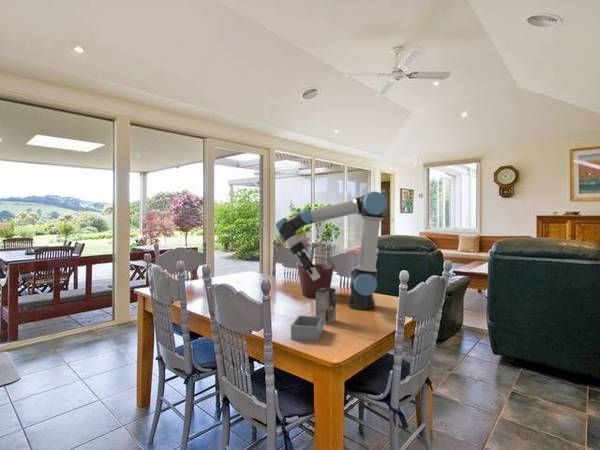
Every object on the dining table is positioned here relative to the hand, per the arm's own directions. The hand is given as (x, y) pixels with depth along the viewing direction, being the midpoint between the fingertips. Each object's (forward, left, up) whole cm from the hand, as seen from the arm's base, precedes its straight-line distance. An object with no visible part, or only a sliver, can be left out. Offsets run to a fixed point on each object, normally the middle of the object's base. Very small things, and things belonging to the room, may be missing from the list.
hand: (317, 278), depth 183 cm
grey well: (-1, +29, -19) cm, 35 cm away
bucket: (+8, -43, -19) cm, 48 cm away
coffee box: (-6, +9, -19) cm, 22 cm away
